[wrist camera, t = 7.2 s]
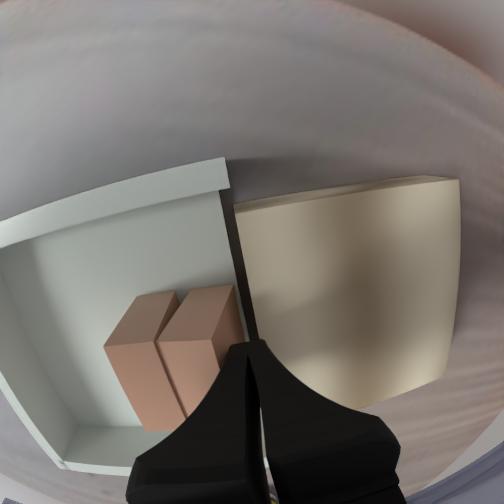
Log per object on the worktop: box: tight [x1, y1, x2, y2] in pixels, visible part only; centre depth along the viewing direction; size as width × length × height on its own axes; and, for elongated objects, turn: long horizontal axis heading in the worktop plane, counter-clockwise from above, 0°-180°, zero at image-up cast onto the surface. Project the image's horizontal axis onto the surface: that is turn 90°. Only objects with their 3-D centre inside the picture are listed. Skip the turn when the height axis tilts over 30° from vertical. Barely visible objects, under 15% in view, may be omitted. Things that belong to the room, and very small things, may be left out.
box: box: [0, 157, 269, 476], centre depth 13 cm, size 14×15×4 cm
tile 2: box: [103, 290, 187, 432], centre depth 12 cm, size 4×4×2 cm
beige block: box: [233, 175, 461, 410], centre depth 14 cm, size 10×11×3 cm
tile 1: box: [156, 285, 246, 418], centre depth 12 cm, size 4×4×2 cm
